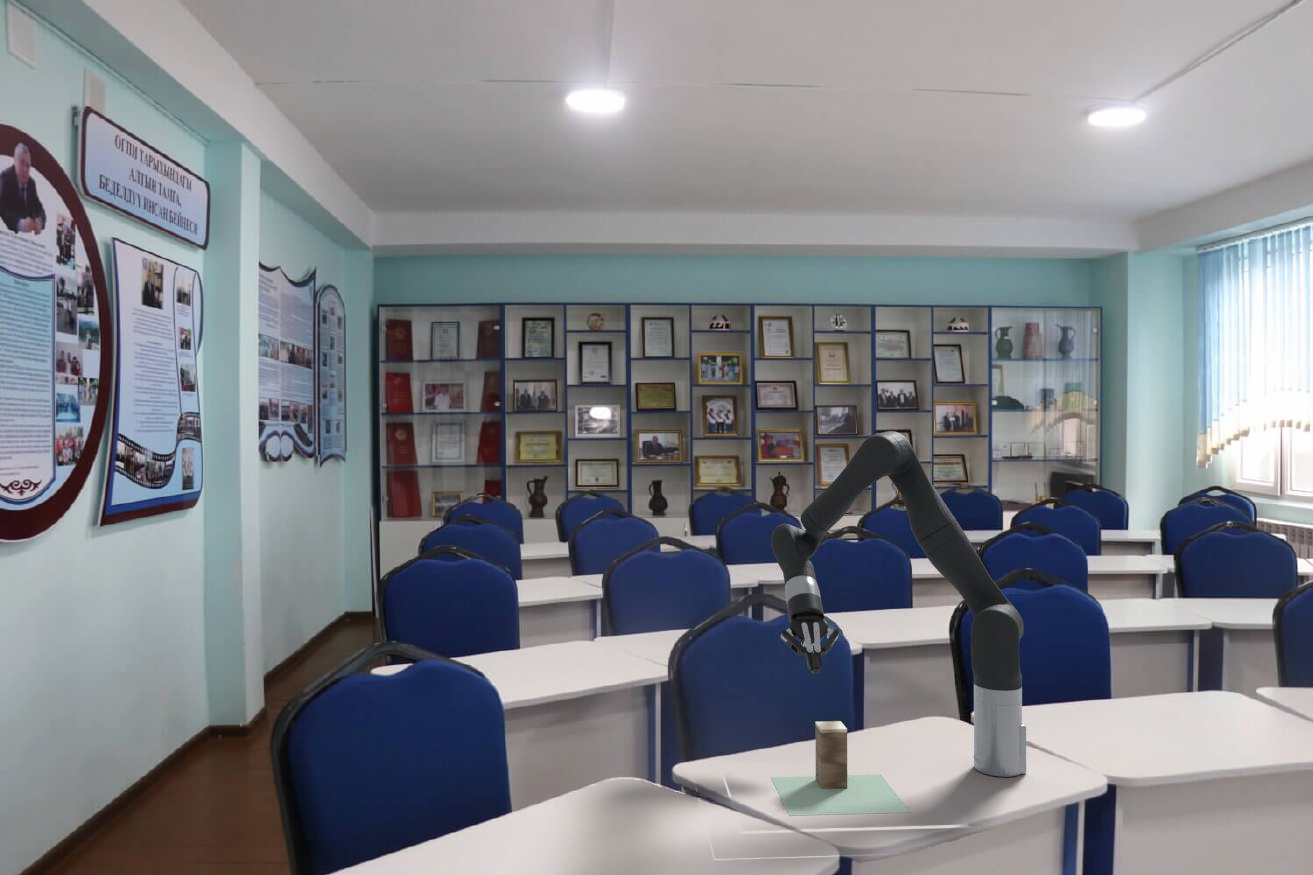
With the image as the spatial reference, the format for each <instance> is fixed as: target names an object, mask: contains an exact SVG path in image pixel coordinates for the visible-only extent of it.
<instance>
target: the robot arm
mask: <svg viewBox="0 0 1313 875" xmlns="http://www.w3.org/2000/svg"><path fill="white" fill-rule="evenodd" d="M884 477H888V479H889V480H890V481H891V483H893V485H894V486H895V488H896V489H897V491H898V493H899V494H900V496H901V498H902V500H903V503H904V506H905V510H906V514H907V518H908V522H909V526H910V529H911V532H912V534H913V536H914V539H915V540H916V542H917V544H918V545H919V547H920V548H921V550H922V552H923V553H924V554H925V556H926V558H927V559H928V561H929V562H930V563H931V565H932V566H933V567H934V568H935V569H936V570H937V571H938V573H939V574H941V576H942V577H944V578H945V580H947V582H949V583H950V584H951V585H952V586H953V587H954V588H955V590H956V591H957V592H958V593H959V595H960V596H961V597H962V599H963V600H964V603H966V605H967V608H968V609H969V611H970V612H971V615H972V617H973V621H972V623H971V628H970V629H971V630H970V650H971V651H970V654H971V655H970V656H971V669H972V673H973V768H974V769H975V770H976V771H978V772H980V773H982V774H984V775H989V776H994V777H1000V778H1001V777H1002V778H1003V777H1005V778H1006V777H1007V778H1010V777H1016V776H1019V775H1022V774H1023V775H1024V774H1027V727H1026V725H1025V724H1024V723H1023V674H1022V672H1021V667H1020V666H1021V665H1020V641H1021V639H1022V638H1023V635H1024V633H1025V632H1024V629H1025V627H1024V626H1025V625H1024V621H1023V618H1022V616H1021V614H1020V613H1019V611H1018V610H1017V609H1016V608H1015V606H1014V605H1013V603H1012V602H1011V601H1010V600H1009V599H1008V598H1007V596H1006V595H1005V594H1004V592H1002V589H1000V587H998V585H997V584H996V583H995V581H994V580H993V578H992V576H991V575H990V574H989V572H988V570H987V569H986V567H985V565H984V564H983V561H982V560H981V558H980V556H979V554H978V553H977V551H976V550H975V548H974V546H973V544H972V543H971V541H970V540H969V538H968V535H967V534H966V532H964V530H963V528H962V527H961V525H960V524H959V522H958V521H957V519H956V517H955V516H954V514H953V513H952V512H951V511H950V509H949V507H948V506H947V504H946V503H945V501H944V500H943V498H942V497H941V495H940V493H939V492H938V490H937V489H936V488H935V486H934V484H932V482H931V480H930V479H929V477H928V475H927V473H926V471H925V469H924V468H923V465H922V463H921V462H920V460H919V457H918V456H917V453H916V451H915V450H914V448H913V446H912V444H911V443H910V441H909V440H908V439H907V438H906V437H905V436H904V435H903V434H902V433H900V432H897V431H893V430H888V431H883V432H880V433H876V434H872V435H870V436H868V437H867V438H865V439H864V441H863V442H862V444H861V445H860V446H859V447H858V449H857V450H856V452H855V453H854V455H853V456H852V457H851V459H850V461H849V462H848V463H847V465H846V466H845V467H844V469H842V471H841V472H840V474H839V475H838V476H837V477H836V478H835V479H834V480H833V481H832V482H831V483H830V484H829V486H828V487H827V488H825V490H823V492H821V493H820V494H819V495H818V496H817V497H816V498H815V499H814V500H813V501H812V502H811V503H810V504H809V505H808V506H807V507H806V508H805V509H804V510H803V511H802V513H801V515H800V523H801V525H802V527H803V528H804V529H801V528H800V527H797V526H794V525H792V524H790V523H781V524H778V525H777V526H776V527H775V528H774V529H773V531H772V534H771V537H770V545H771V551H772V552H773V555H774V558H775V559H776V561H777V563H778V566H779V568H780V570H781V572H782V574H783V581H784V587H785V589H784V590H785V603H786V608H787V614H788V620H789V624H788V628H787V629H783V630H782V631H781V634H780V640H781V641H782V642H783V643H784V644H785V646H787V647H788V648H789V649H790V650H791V651H792V652H793V653H794V654H795V655H796V656H798V657H801V656H802V657H804V658H805V659H806V665H807V669H808V671H809V672H811V674H812V675H813V674H820V672H821V671H822V670H823V669H822V668H823V660H822V656H828V655H827V654H828V653H829V652H830V650H832V647H833V646H834V644H835V643H836V642H837V640H838V638H839V634H840V630H839V629H837V628H835V629H832V628H831V627H829V624H828V622H827V620H826V618H825V613H824V607H823V603H822V602H823V601H822V598H821V593H820V592H821V591H820V588H819V585H818V582H817V578H816V572H815V567H814V564H813V563H812V561H811V560H810V559H811V558H812V557H813V556H814V555H815V553H816V552H817V550H818V548H819V547H820V544H821V543H822V541H823V539H824V538H825V536H826V534H827V532H829V531H830V530H831V529H832V528H833V527H835V525H836V524H837V523H838V522H839V521H840V520H841V519H842V518H843V517H844V516H845V515H846V514H847V512H848V511H849V509H850V508H851V507H852V505H853V504H854V503H855V500H857V498H858V497H859V496H860V495H861V494H862V493H863V491H865V490H866V489H867V488H869V487H870V486H871V485H872V484H874V483H876V482H877V481H879V480H881V479H883V478H884ZM825 635H827V636H826V638H827V640H826V641H825V642H824V644H823V645H822V646H821V641H822V640H823V639H824V637H825Z"/></svg>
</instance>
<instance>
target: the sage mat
mask: <svg viewBox="0 0 1313 875" xmlns="http://www.w3.org/2000/svg"><path fill="white" fill-rule="evenodd" d="M770 779H771V781H772V783H773V785H774V787H775V790H776V791H777V794H778V795H779V797H780V799H781V801H782V804H783V805H784V807H785V810H786V812H787V814H788V816H789V817H793V816H795V817H797V816H799V817H800V816H831V815H870V814H874V815H875V814H903V813H904V814H905V813H906V814H907V813H909V814H910V813H912V811H911V810H910V809H909V808H908V806H907V805H906V804H905V803H904V801H903V800H902V799H901V798H900V796H899V795H898V794H897V793H896V792H895V790H894V789H893V788H892V786H891V785H890V784H889V782H887V780H886V779H885V778H884V776H882V774H878V773H877V774H847V789H821V788H820V786H819V784H818V783H817V781H816V775H812V776H811V775H810V776H809V775H805V776H803V775H802V776H771V777H770Z"/></svg>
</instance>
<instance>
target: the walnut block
mask: <svg viewBox="0 0 1313 875" xmlns="http://www.w3.org/2000/svg"><path fill="white" fill-rule="evenodd" d="M814 722H815V726H814V727H815V728H814V730H815V776H816V781H817V783H818V784H819V786H820V788H821V789H847V775H848V728H847V727H846V726H845V724H844V723H843V722H842V721H841V720H833V721H831V720H830V721H814Z"/></svg>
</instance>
